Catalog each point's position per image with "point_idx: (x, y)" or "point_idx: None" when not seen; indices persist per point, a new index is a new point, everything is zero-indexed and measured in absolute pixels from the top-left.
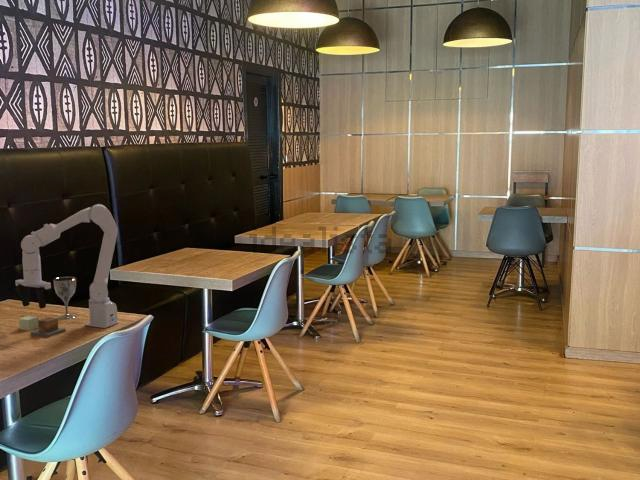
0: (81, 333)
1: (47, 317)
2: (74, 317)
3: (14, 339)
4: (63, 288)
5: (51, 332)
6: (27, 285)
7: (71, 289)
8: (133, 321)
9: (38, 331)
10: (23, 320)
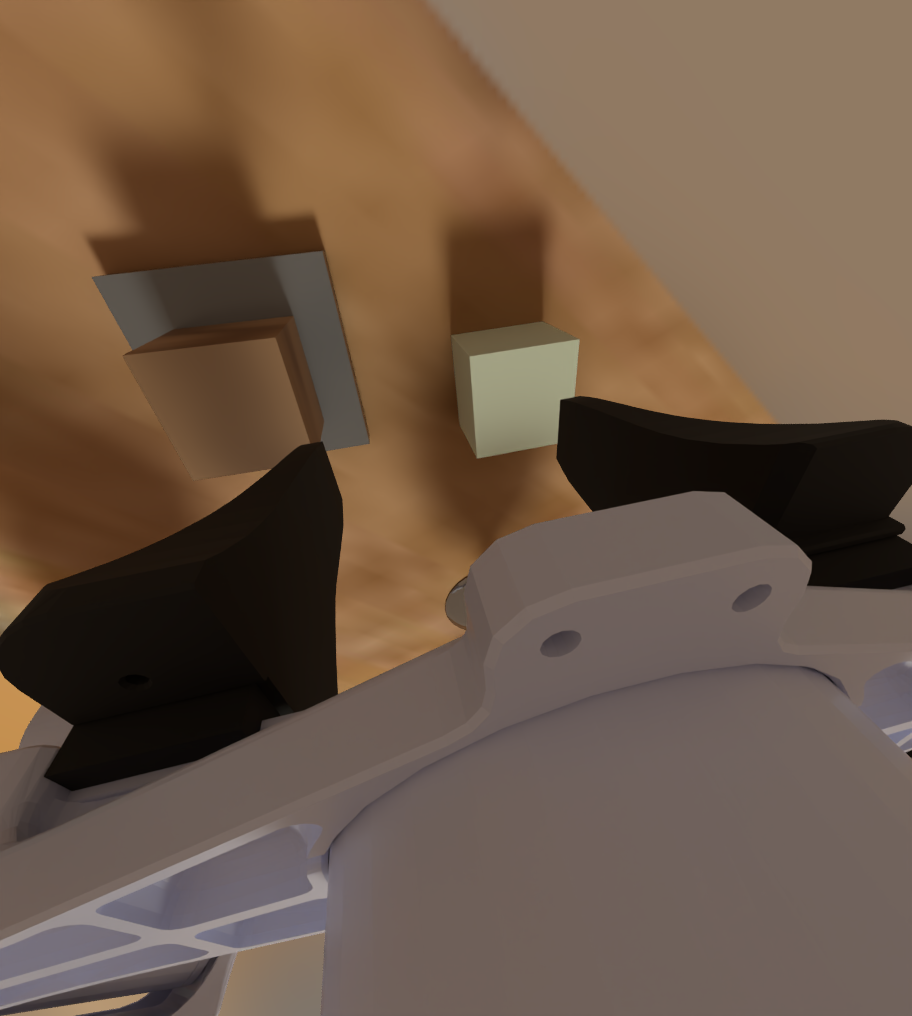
0: (60, 492)
1: None
2: (447, 613)
3: (302, 17)
4: None
5: None
6: (467, 600)
7: None
8: None
9: (286, 309)
10: (524, 344)
